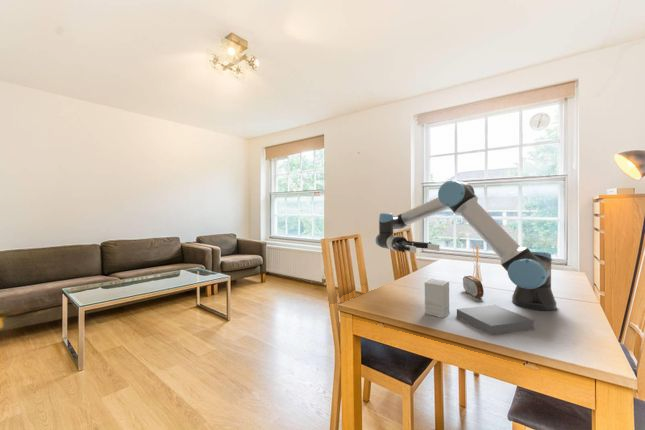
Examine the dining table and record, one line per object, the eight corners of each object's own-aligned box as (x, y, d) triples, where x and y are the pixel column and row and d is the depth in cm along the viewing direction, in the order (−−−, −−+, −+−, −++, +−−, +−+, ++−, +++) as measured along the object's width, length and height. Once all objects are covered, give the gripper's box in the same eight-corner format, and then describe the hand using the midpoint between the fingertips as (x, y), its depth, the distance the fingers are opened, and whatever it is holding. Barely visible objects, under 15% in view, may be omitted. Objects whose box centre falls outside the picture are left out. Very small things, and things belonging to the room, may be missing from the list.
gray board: (495, 312, 112) (495, 304, 111) (534, 328, 96) (534, 320, 96) (456, 316, 107) (456, 308, 107) (490, 334, 92) (490, 325, 92)
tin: (484, 300, 126) (484, 281, 126) (477, 300, 126) (477, 281, 126) (468, 290, 141) (468, 273, 141) (461, 290, 141) (461, 273, 141)
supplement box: (449, 313, 111) (450, 281, 111) (443, 318, 106) (443, 285, 105) (431, 308, 116) (431, 278, 116) (424, 313, 111) (424, 282, 111)
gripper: (416, 248, 151) (447, 255, 131) (377, 252, 141) (405, 259, 121) (416, 235, 150) (447, 239, 131) (377, 237, 140) (405, 242, 121)
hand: (427, 248), depth 126 cm, fingers open, 13 cm apart
